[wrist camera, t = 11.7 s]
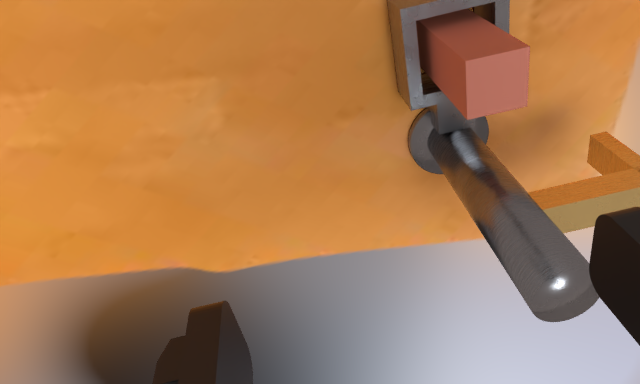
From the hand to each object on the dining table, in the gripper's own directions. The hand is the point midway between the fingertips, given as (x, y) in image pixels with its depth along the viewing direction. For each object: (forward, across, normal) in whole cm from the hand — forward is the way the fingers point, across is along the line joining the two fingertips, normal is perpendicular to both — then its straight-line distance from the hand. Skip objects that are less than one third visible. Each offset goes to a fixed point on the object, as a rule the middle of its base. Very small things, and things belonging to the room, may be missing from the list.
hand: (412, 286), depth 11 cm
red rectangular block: (+30, -10, +5) cm, 32 cm away
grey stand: (+30, -13, +9) cm, 34 cm away
